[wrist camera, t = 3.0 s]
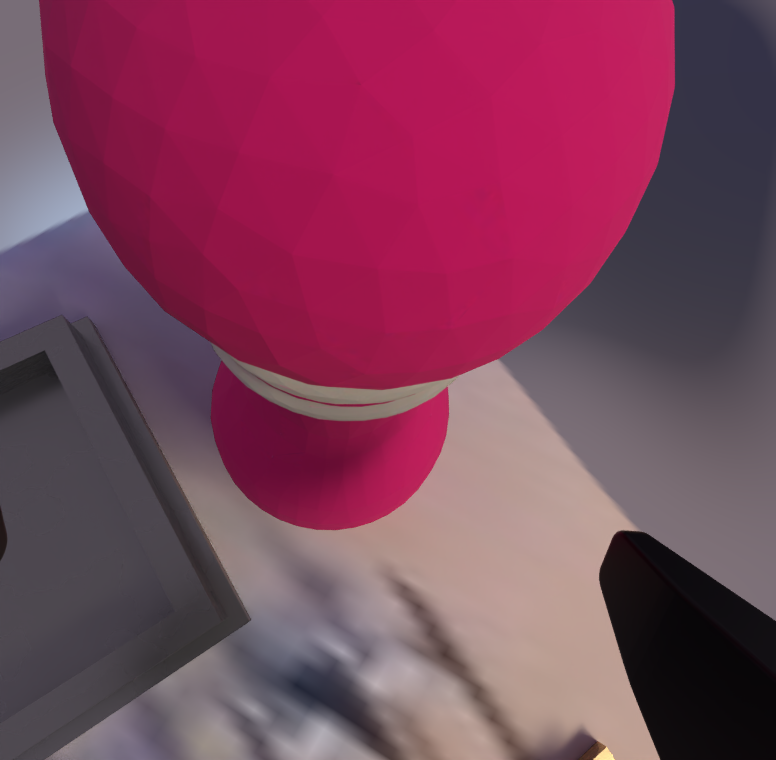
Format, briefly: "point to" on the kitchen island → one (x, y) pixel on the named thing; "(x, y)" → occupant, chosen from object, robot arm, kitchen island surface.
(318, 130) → the pepper mill
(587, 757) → the brass square tray
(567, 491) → the kitchen island surface
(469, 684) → the kitchen island surface
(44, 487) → the graphite square tray
